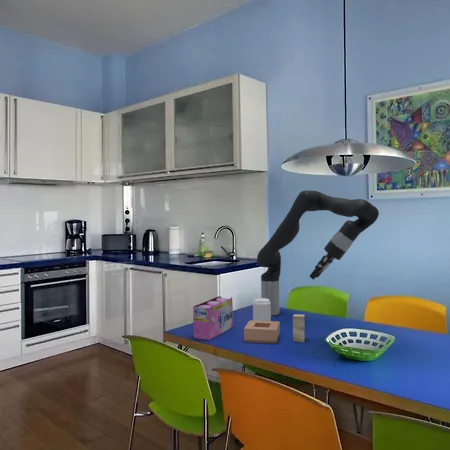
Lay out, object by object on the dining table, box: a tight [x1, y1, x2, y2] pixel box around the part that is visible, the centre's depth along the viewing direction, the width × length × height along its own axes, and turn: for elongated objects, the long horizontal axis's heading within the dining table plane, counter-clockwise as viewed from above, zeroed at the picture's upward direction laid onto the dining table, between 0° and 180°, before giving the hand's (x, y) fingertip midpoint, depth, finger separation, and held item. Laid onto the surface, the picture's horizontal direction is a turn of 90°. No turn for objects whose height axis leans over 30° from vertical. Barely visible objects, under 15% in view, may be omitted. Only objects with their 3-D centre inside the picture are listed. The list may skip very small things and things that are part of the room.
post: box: [292, 314, 306, 343], centre depth 174 cm, size 4×4×10 cm
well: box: [243, 319, 281, 345], centre depth 177 cm, size 13×13×6 cm
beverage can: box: [252, 297, 272, 321], centre depth 196 cm, size 8×8×12 cm
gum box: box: [192, 295, 234, 341], centre depth 188 cm, size 24×8×14 cm, turn 152°
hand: (313, 277), depth 170 cm, fingers open, 8 cm apart
